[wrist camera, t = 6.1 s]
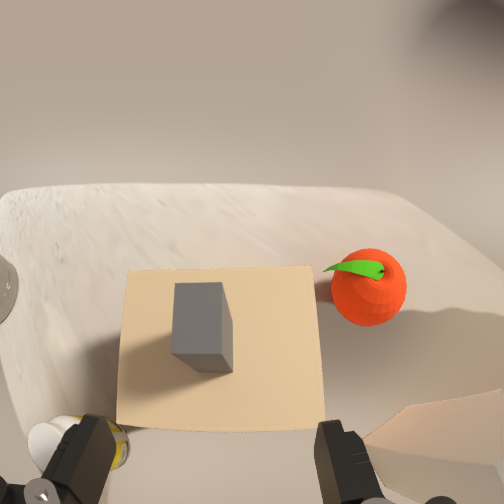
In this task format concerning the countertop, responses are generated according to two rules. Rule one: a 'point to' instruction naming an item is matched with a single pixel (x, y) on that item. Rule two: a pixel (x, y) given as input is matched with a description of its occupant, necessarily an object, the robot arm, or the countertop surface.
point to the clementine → (368, 287)
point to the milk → (444, 450)
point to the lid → (220, 350)
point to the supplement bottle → (49, 435)
